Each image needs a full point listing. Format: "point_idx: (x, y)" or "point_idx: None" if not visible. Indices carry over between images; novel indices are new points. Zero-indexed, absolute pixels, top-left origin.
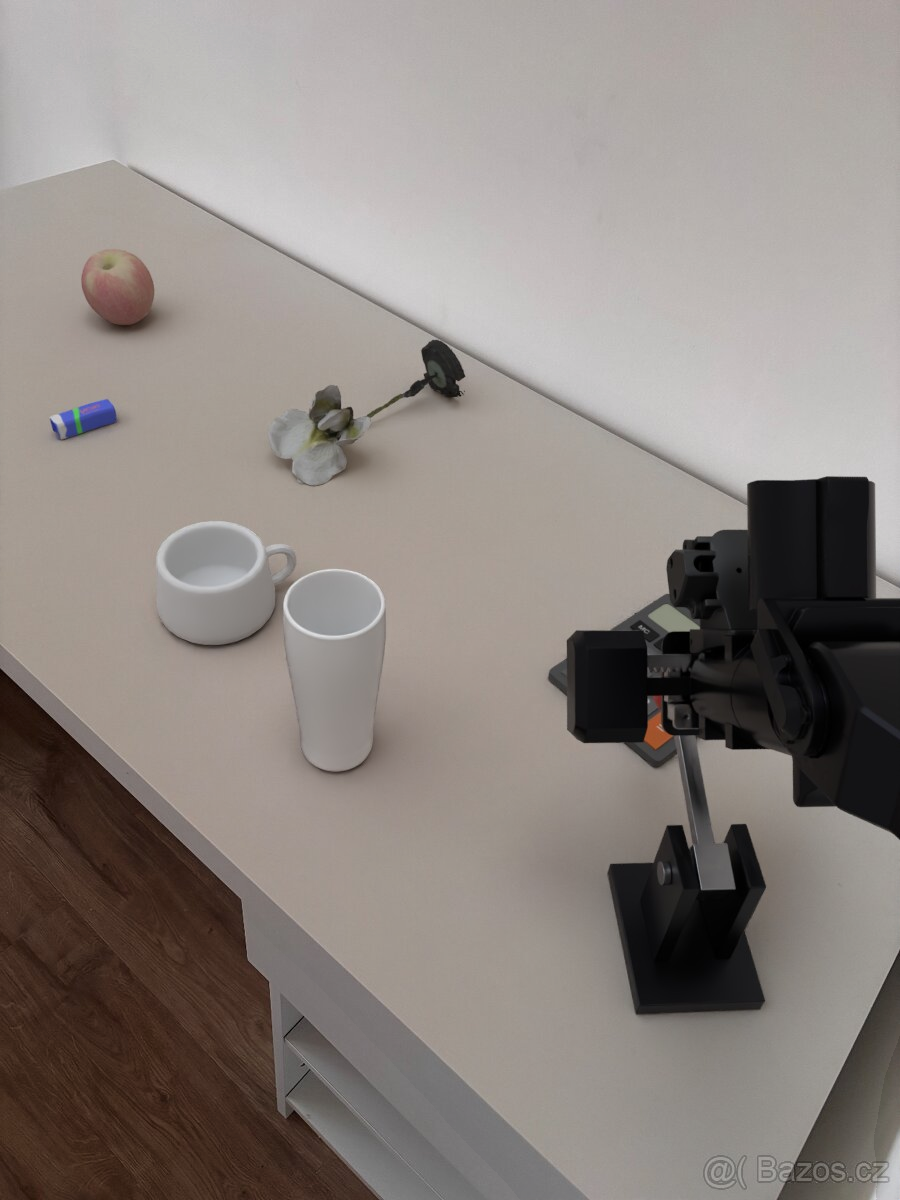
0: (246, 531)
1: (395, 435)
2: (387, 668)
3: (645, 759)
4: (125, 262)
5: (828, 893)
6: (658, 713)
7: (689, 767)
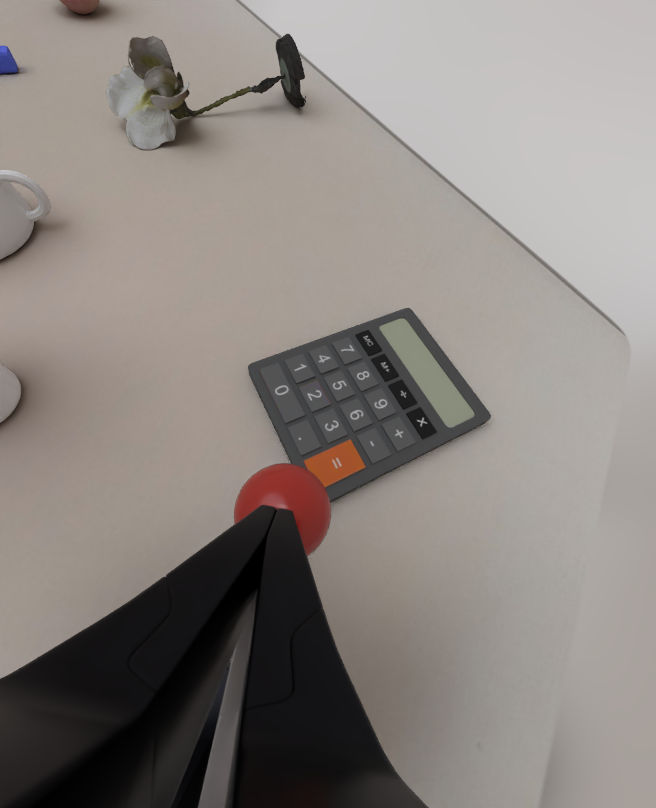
0: None
1: (237, 125)
2: (95, 326)
3: None
4: None
5: (460, 759)
6: (341, 443)
7: (233, 705)
